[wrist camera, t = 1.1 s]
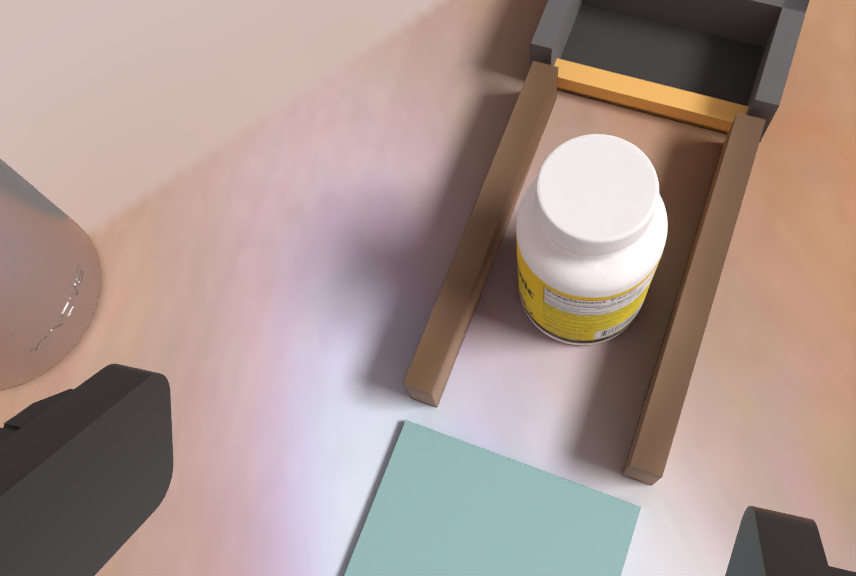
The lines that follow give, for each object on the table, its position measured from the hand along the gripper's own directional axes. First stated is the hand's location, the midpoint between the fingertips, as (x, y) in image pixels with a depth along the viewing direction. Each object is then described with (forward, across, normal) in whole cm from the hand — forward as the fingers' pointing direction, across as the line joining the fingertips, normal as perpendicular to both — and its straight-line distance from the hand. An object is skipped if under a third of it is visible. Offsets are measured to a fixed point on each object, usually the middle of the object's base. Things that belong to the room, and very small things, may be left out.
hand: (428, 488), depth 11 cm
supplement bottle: (+25, -1, +7) cm, 26 cm away
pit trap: (+33, -3, -3) cm, 33 cm away
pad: (+16, +1, +15) cm, 22 cm away
